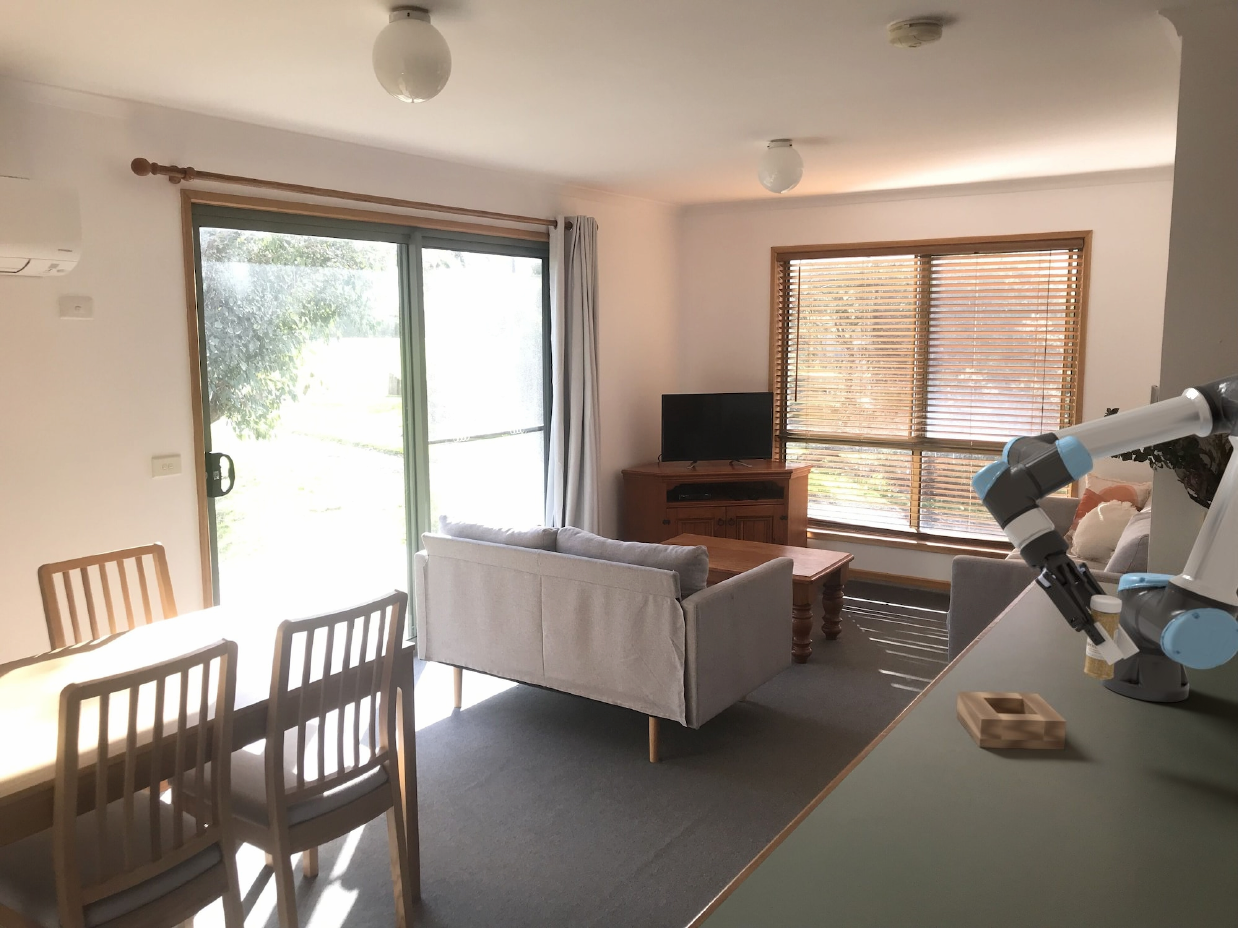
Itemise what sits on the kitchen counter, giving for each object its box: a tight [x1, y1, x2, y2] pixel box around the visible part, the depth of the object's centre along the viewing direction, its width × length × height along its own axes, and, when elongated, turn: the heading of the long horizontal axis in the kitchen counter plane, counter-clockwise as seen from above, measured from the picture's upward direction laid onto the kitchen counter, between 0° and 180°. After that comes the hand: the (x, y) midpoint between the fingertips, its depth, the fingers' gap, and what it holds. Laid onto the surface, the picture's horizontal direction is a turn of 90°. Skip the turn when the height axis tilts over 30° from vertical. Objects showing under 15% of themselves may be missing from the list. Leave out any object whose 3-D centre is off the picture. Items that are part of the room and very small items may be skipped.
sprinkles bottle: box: [1083, 594, 1122, 680], centre depth 153 cm, size 5×5×13 cm
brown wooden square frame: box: [956, 691, 1067, 750], centre depth 160 cm, size 14×12×5 cm
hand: (1124, 657), depth 150 cm, fingers closed on sprinkles bottle, 4 cm apart
